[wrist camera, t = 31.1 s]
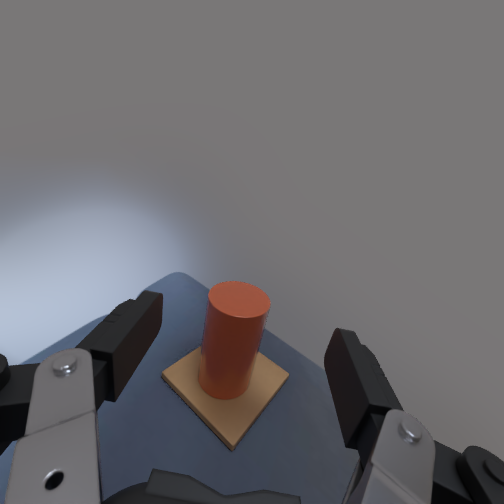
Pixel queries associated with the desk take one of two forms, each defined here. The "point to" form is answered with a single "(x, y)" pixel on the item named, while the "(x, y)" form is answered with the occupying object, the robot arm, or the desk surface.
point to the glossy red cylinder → (231, 338)
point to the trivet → (232, 410)
